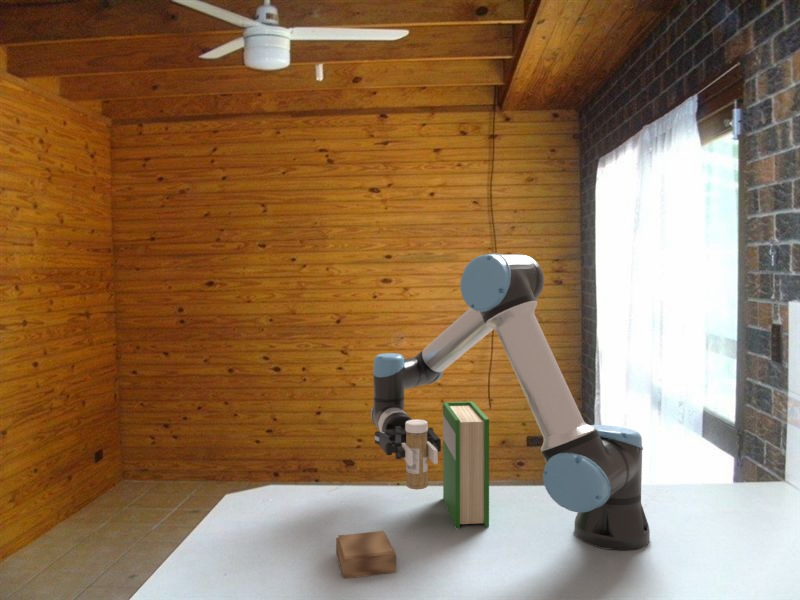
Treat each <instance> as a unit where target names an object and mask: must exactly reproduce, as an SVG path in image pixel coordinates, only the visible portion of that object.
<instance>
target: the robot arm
mask: <svg viewBox="0 0 800 600" xmlns="http://www.w3.org/2000/svg"><path fill="white" fill-rule="evenodd" d="M544 286H545V275H544V271H543V269H542V267H541V265H540V264H539V263H538V262H537V261H536V260H535V259H534V258H532V257H531V256H528V255H525V254H520V253H508V254H506V253H505V254H504V253H502V254H501V253H495V252H492V253H487V254H480V255H479V256H476V257H474V258H473V259H471V260H470V261H468V263H467V265H466V266H465V267H464V270H463V271H462V276H461V277H460V285H459V287H460V293H461V298H462V299H463V301H464V303H465V304H466V305H467V306H468V307H469V309H467V310H466V311H464V313H463V314H461V315H459V317H458V318H457V319H456V320H454V322H453V323H451V324H450V325H449V326H448V327H447V328H446V329H445V330H443V331H442V332H441V333H440V334H438V336H436V337H435V338H434V339H433V340H432V341H431V342H430V343H429V344H427V345H426V347H424V348H423V349H422V350H421V351H420V352H418V353H417V354H416V355H415V356H413V357H407V358H404V355H402V354H400V353H395V352H394V353H393V352H390V353H389V352H386V353H379V354H376V355H375V357H374V358H373V368H372V369H373V370H372V374H373V406H372V408H371V410H370V411H371V412H370V416H371V421H372V422H373V423H372V424H373V425H374V426H375V428H376V429H378V430H377V431H374V444H376V445H378V446H379V447H380V448H381V449H382V451H383V452H384V453H385V455H386V456H392V455H393V454H395V459H396V460H401V459H402V458H403V460H404V461H405V463H406V462H407V464H408V465H409V466H413V452H412V450H411V449H410V448H409V447H408V446H407V444H406V431H405V423H406V421H408V420H413V418H412V417H411V416H410V415H409V414H408V413H407V412H406V411H405V391H406V390H409V389H413V388H416V387H420V386H421V387H422V386H426V385H431V384H433V383H436V382H437V381H439V380H441V378H442V377H443V373H444V372H445V370H446V369H447V368H448V367H450V366H451V365H453V363H455V362H456V361H457V360H458V359H459V358H460V357H462V356H463V355H465V354H466V353H467V352H468V351H469V350H470V349H472V348H473V347H474V346H475V345H477V344H478V343H479V342H480V341H481V340H482V339H483V338H485V337H486V336H487V335H489V333H491V332H492V331H493V330H495V332H496V334H497V336H498V338H499V340H500V343H501V345H502V347H503V349H504V351H505V354H506V356H507V358H508V360H509V363H510V366H511V368H512V369H513V372H514V374H515V376H516V379H517V380H518V383H519V385H520V388H521V389H522V392H523V395H524V397H525V399H526V401H527V404H528V405H529V408H530V410H531V413H532V415H533V417H534V420H535V422H536V424H537V425H538V428H539V431H540V433H541V435H542V437H543V442H542V445H541V448H540V452H541V454H542V457H543V459H544V460H545V465H544V468H543V472H542V481H543V485H544V487H545V490H546V492H547V494H548V495H549V497H550V498H551V499H552V501H554V502H555V503H556V504H557V505H558V506H560V507H561V508H564V509H566V510H567V511H569V512H574V513H576V516H575V519H574V534H575V535H576V537H577V538H578V539H580V540H581V541H582V542H584V543H587V544H589V545H592V546H594V547H599V548H602V549H607V550H614V551H615V550H616V551H631V550H638V549H641V548H643V547H645V546H646V547H647V545H648V544H649V543H650V539H651V538H650V537H651V536H650V534H651V533H650V526H649V523H648V519H647V517H646V516H647V515H646V513H645V510H644V507H643V504H642V478H643V477H642V475H643V474H642V473H643V472H642V471H643V450H644V447H643V441H642V439H643V438H642V435H641V434H640V432H638V431H636V430H633V429H631V428H626V427H620V426H613V425H607V424H606V425H604V424H602V425H601V424H591V425H590V424H588V423H587V422H586V421H584V418H583V417H582V414H581V412H580V410H579V408H578V406H577V403H576V401H575V399H574V397H573V394H572V393H571V391H570V388H569V386H568V384H567V382H566V379H565V377H564V375H563V373H562V370H561V369H560V367H559V364H558V362H557V360H556V358H555V355H554V353H553V351H552V349H551V347H550V345H549V343H548V341H547V338H546V336H545V334H544V332H543V330H542V327H541V325H540V323H539V321H538V319H537V317H536V315H535V311H536V308H537V306H538V301H537V300H538V299H539V297H540V296H541V294H542V293H543V289H544ZM441 441H442V440H441V438H440V437H439V436H438V435H437V434H436V432H434V428H433V427H428V431H427V459H429V460H430V462H432V464H434V465H438V462H439V459H438V455H439V452H441V450H442V444H441V443H442V442H441Z"/></svg>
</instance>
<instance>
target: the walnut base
mask: <svg viewBox="0 0 800 600" xmlns="http://www.w3.org/2000/svg"><path fill="white" fill-rule="evenodd" d="M335 542H336V543H335V546H336V547H335V552H336V553H335V554H336V558H337V561H338V564H339V568H340V572H341V577H342V579H343V580H344V579H350V578H358V577H367V576H368V577H369V576H376V575H386V574H392V573H393V574H394V573H397V553H396V552H395V550H394V547H393V545H392V543H391V542H390V539H389V538H388V536H387V533H386V532H385V531H384V530H380V531H369V532H359V533H350V534H341V535H338V536H337V537H336V538H335Z"/></svg>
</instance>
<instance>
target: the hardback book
mask: <svg viewBox="0 0 800 600" xmlns="http://www.w3.org/2000/svg"><path fill="white" fill-rule="evenodd" d="M442 462H443V463H442V477H443V478H442V481H443V483H442V487H443V488H442V493H443V495H442V500H443V502H444V503H445V506H446V508H448V509H447V511H448V513H450V514H449V516H450V515H451V516H450V518H451V521H452V520H453V521H452V523H453V522H454V523H453V525H455V526H454V528H455V527H456V528H458V529H461V525H468V524H469V525H471V524H472V525H473V524H482V525H483V524H484V525H483V526H484V528H489V527H490V419H489V417H488V416H487V415H486V414H485V413H484V412H483V411H482V410H481V408H480V407H478V405H477V404H476V403H475V401H448V402H447V401H446V402H444V401H442ZM456 528H455V529H456Z"/></svg>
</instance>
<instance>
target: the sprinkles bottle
mask: <svg viewBox="0 0 800 600" xmlns="http://www.w3.org/2000/svg"><path fill="white" fill-rule="evenodd" d="M428 426H429V425H428V421H426V420H424V419H412V420H408V421H406V423H405V431H406V444H407V446H408V447H409V448H410V449H411V450H412V452H413V466H409V465H408V464H407V462H406V461H405V463H406V464H405V466H406V468H405V470H406V484H405V485H406V487H407V488H408V489H410V490H423V489H426V488H428V486H429V482H428V470H429V469H428V457H427V431H428V428H429V427H428Z"/></svg>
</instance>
